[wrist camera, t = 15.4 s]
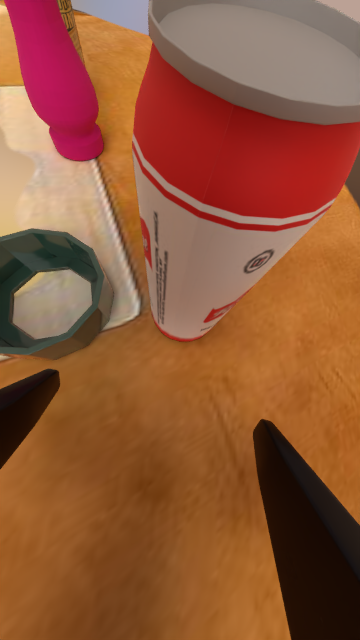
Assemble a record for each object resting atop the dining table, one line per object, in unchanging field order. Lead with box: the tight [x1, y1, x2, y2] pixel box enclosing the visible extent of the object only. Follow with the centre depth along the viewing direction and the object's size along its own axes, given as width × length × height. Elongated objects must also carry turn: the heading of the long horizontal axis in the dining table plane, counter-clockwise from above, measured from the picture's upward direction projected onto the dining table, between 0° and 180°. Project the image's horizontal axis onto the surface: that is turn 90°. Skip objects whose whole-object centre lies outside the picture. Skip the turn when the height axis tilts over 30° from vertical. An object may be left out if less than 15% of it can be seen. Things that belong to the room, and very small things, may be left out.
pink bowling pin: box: [4, 0, 104, 161], centre depth 15 cm, size 7×7×20 cm
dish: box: [0, 229, 114, 360], centre depth 16 cm, size 11×11×4 cm
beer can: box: [132, 0, 360, 341], centre depth 11 cm, size 6×6×16 cm
